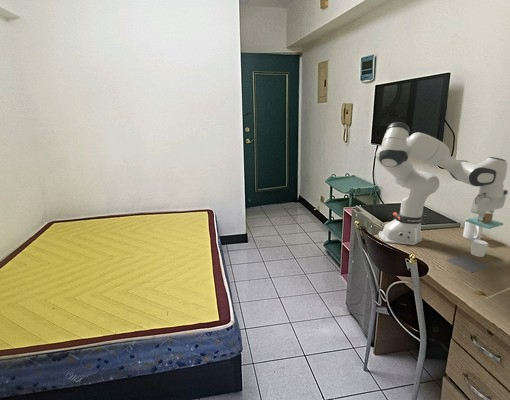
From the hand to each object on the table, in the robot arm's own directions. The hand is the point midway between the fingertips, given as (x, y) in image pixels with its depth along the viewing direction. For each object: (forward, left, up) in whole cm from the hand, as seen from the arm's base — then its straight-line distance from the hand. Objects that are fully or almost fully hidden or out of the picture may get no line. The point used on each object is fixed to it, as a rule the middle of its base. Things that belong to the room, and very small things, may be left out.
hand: (484, 219), depth 156 cm
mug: (+8, +19, -19) cm, 28 cm away
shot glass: (0, 0, -19) cm, 19 cm away
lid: (0, 0, -2) cm, 2 cm away
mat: (-10, -10, -19) cm, 24 cm away
